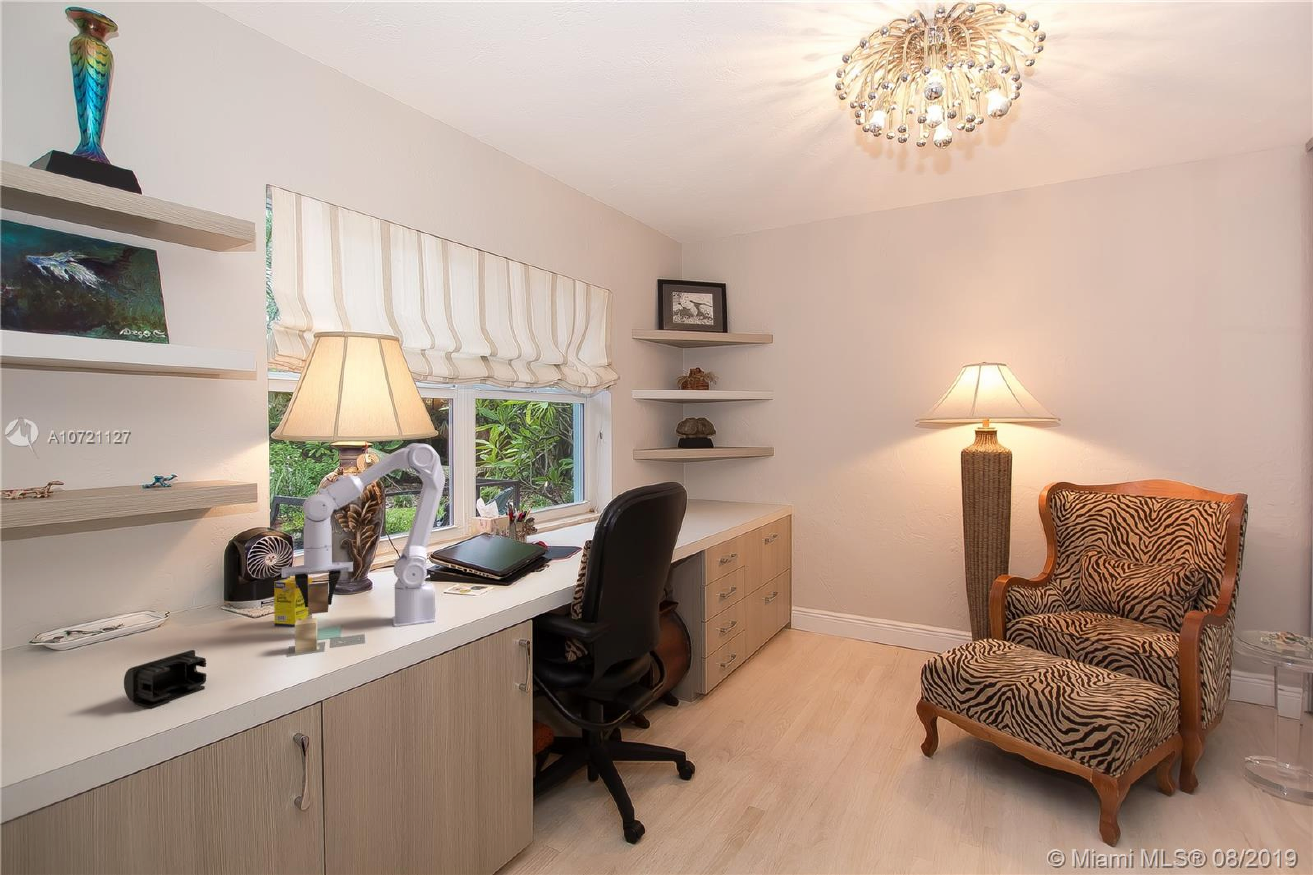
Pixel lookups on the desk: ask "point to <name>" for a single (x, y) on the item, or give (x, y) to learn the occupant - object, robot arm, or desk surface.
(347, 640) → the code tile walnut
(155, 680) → the end cap
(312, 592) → the walnut block
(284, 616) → the supplement box
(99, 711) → the desk surface
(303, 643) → the oak block
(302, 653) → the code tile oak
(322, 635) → the felt pad
